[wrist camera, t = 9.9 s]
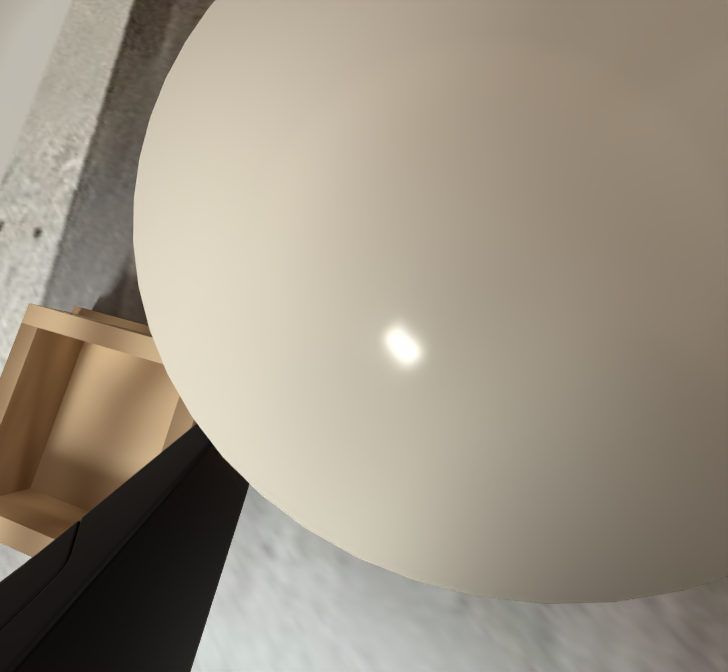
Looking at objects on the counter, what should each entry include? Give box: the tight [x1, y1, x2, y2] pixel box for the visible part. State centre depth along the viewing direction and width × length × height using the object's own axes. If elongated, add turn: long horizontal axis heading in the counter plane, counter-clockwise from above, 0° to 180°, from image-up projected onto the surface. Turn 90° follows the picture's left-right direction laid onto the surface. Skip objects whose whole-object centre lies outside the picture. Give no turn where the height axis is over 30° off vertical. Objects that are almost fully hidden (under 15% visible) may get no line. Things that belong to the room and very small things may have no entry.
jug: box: [133, 0, 728, 604], centre depth 10 cm, size 8×6×14 cm
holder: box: [0, 303, 196, 557], centre depth 17 cm, size 11×11×4 cm
